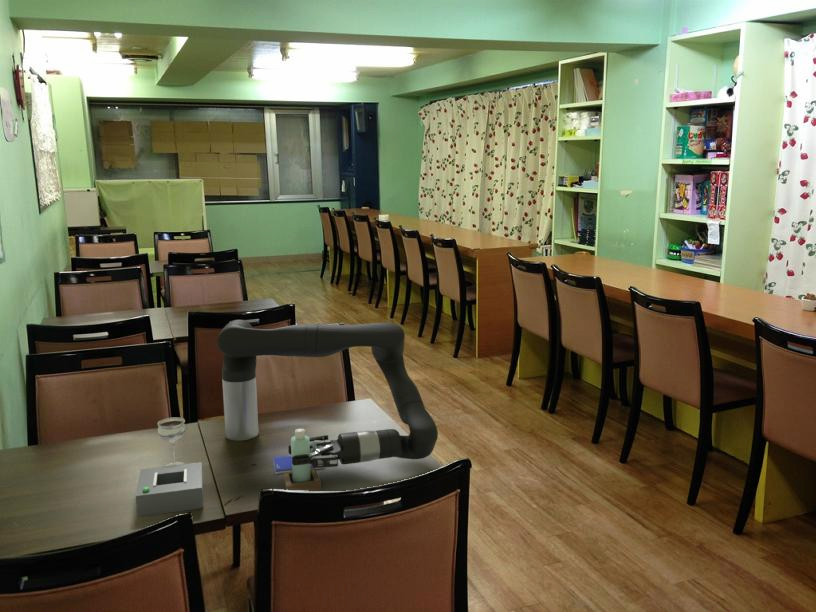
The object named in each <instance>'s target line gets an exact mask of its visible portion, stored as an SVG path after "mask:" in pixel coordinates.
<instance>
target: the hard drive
mask: <svg viewBox="0 0 816 612" xmlns="http://www.w3.org/2000/svg"><path fill="white" fill-rule="evenodd" d="M272 462H273V469H274V474H275V475H279V474H280V475H281V474H283V472H288V471H292V455H287V456H277V457H276V456H275V457H272ZM312 468H313V465H310V469H312ZM315 469H316V470H320V469H321V470H322V469H325V467H323V468H315Z"/></svg>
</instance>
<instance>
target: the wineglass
mask: <svg viewBox="0 0 816 612" xmlns="http://www.w3.org/2000/svg"><path fill="white" fill-rule="evenodd" d="M185 422H186V420H185V418H183V417H167V418H164V419H160V420H158V422H157V427H158V429H157V434H158V436H159V438H160V439H161V440H163V441H164V442H168V443H169V444H171V445H170V446H171V453H172V461H173V462H169V463H167V464H165V465H164V466H172V465H181V464H185V463H184V462H182V461H176V454H175V447H176V446H175V444H176V442H177V441H179V440H181V439H182V438H183V437H184V435H185V434H186V424H185Z"/></svg>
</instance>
